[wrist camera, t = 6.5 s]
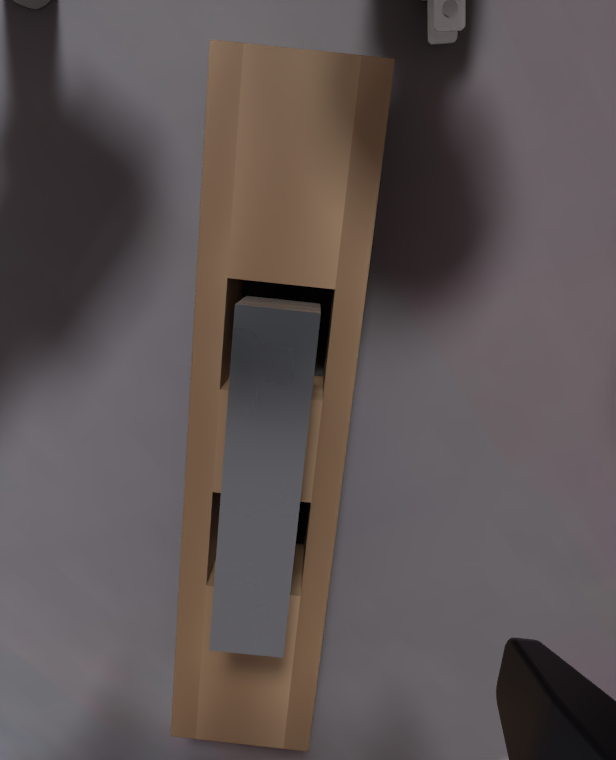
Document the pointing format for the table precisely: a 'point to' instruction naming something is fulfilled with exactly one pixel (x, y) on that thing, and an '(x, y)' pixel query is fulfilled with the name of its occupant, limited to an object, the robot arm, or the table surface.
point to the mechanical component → (32, 3)
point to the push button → (445, 20)
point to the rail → (214, 343)
